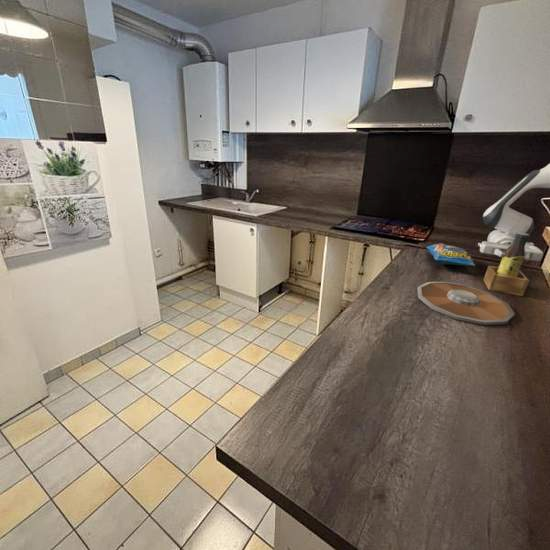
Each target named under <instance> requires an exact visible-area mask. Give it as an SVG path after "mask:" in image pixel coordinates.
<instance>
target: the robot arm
mask: <svg viewBox="0 0 550 550" xmlns="http://www.w3.org/2000/svg"><path fill="white" fill-rule="evenodd" d="M539 188H540V189H550V162H549V163H548V164H547V165H545V166H544V167H543V168H540V169H535V170H533V171H531V172H529V173H528V174H526V175H525V176H524V177H523V178H522V179H520V180H519V181H518V182H517V183H516V184H515V185H514V186H513V187H511V188H510V189H509V190H508V191H507V192H506V193H505V194H504V195H502V197H501V198H499V199H498V200H497V201H496V202H494V203H493V204H492V205H490V206H489V207H487V209H485V211H484V212H483V214H482V221H483V223H484V225H485V226H488V227H490V228H493V229H495V230H492V231H491V232H489V234H488V235H487V239H486V240H487V241H486V240H483V241H481V242H478V243H477V246H478V247H479V253H481V254H487V255H494V256H497V257H499V258H501V259H502V258H503V257H505V254H506V253H505V251H506V249H507V248H508V247H509V246H511V245H512V243H513V241H514V239H515V235H516V233H518V232H519V233H526V234H529V235H530V234H531V233H532V232H533V230H534V222H535V221H534V219H533V217H531V216H528V215H527V214H524V213H522V212H519V211H517V210H515V209H513V208H511V207H510V205H512V204H513V203H514V202H515V201H516V200H517V199H519V198H520V197H521V196H522V195H523V194H524V193H526V192H527V191H528V190H531V189H539ZM543 256H544V252H543V250H541V249H540V248H539V247H537V246H535V243H533V242H531V241H528V240H527V241H526V244H525V257H524V259H523V261H527V262H528V261H533V262H540V261H541V260H542V258H543Z"/></svg>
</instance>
